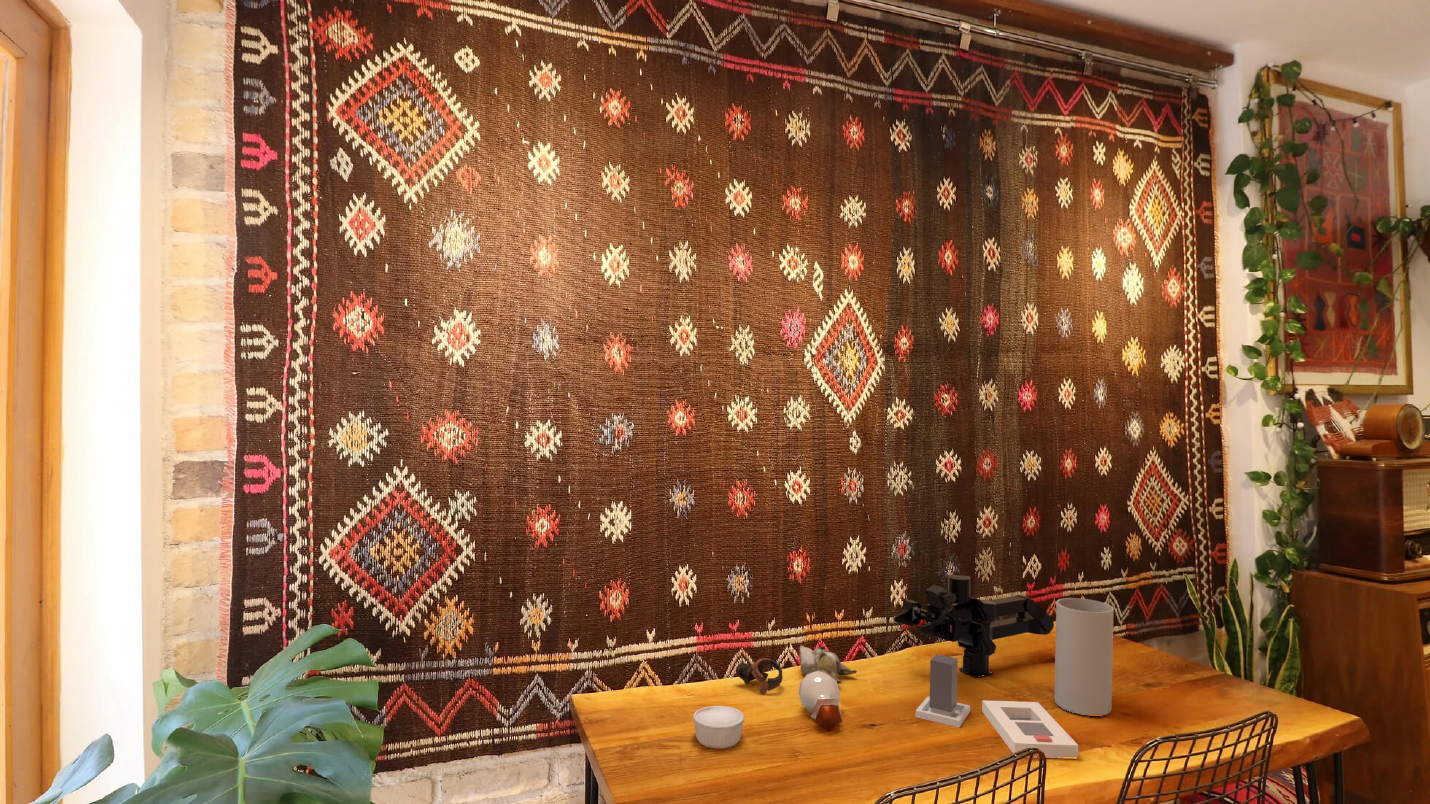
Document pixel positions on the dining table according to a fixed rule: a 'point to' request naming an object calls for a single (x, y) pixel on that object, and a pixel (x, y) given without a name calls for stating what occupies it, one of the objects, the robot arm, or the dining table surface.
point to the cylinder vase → (1084, 656)
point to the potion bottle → (821, 698)
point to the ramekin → (718, 726)
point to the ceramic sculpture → (822, 663)
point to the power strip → (1029, 728)
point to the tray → (956, 720)
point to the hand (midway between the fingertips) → (906, 624)
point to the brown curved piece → (760, 674)
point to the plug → (943, 685)
